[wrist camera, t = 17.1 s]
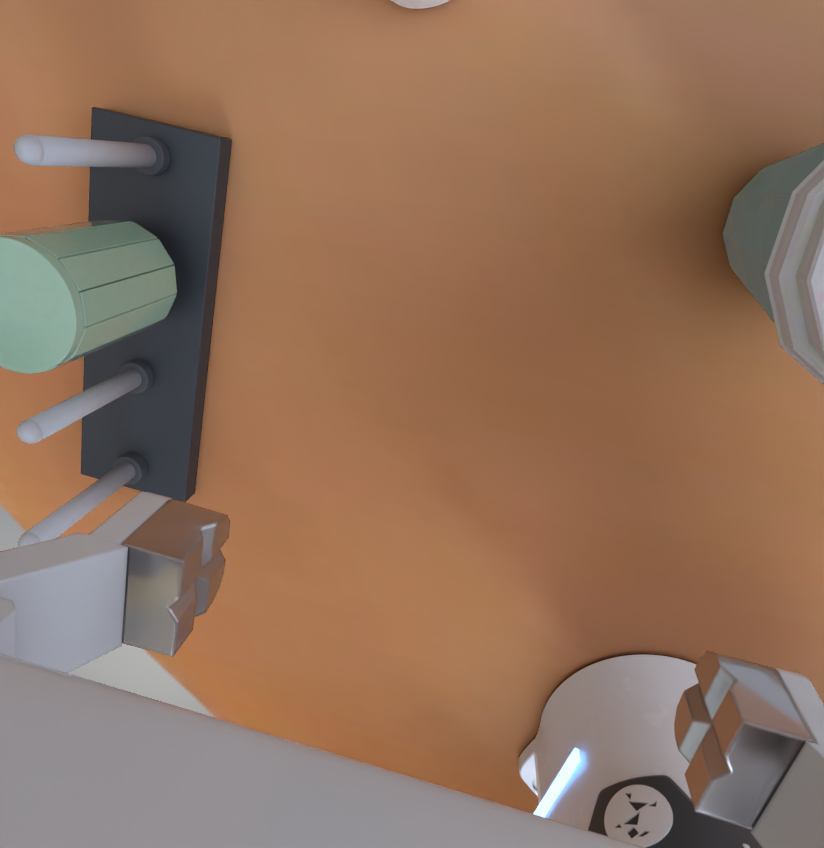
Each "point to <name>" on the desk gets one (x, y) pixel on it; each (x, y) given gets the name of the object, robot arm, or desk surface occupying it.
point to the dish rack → (162, 342)
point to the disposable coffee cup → (784, 251)
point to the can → (419, 3)
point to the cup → (78, 290)
